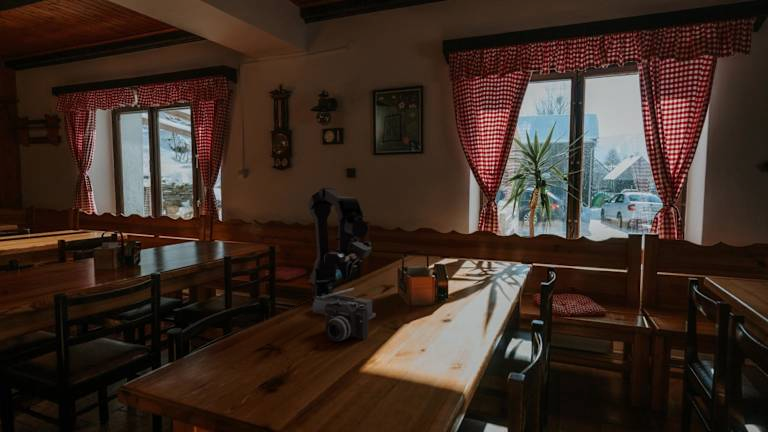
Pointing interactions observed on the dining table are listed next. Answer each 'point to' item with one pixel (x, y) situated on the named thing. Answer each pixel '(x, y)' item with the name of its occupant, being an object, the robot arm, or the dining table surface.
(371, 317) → the clip rail
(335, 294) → the light grey flat bar
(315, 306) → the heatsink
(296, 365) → the dining table surface
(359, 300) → the clip
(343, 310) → the camera
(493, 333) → the dining table surface
